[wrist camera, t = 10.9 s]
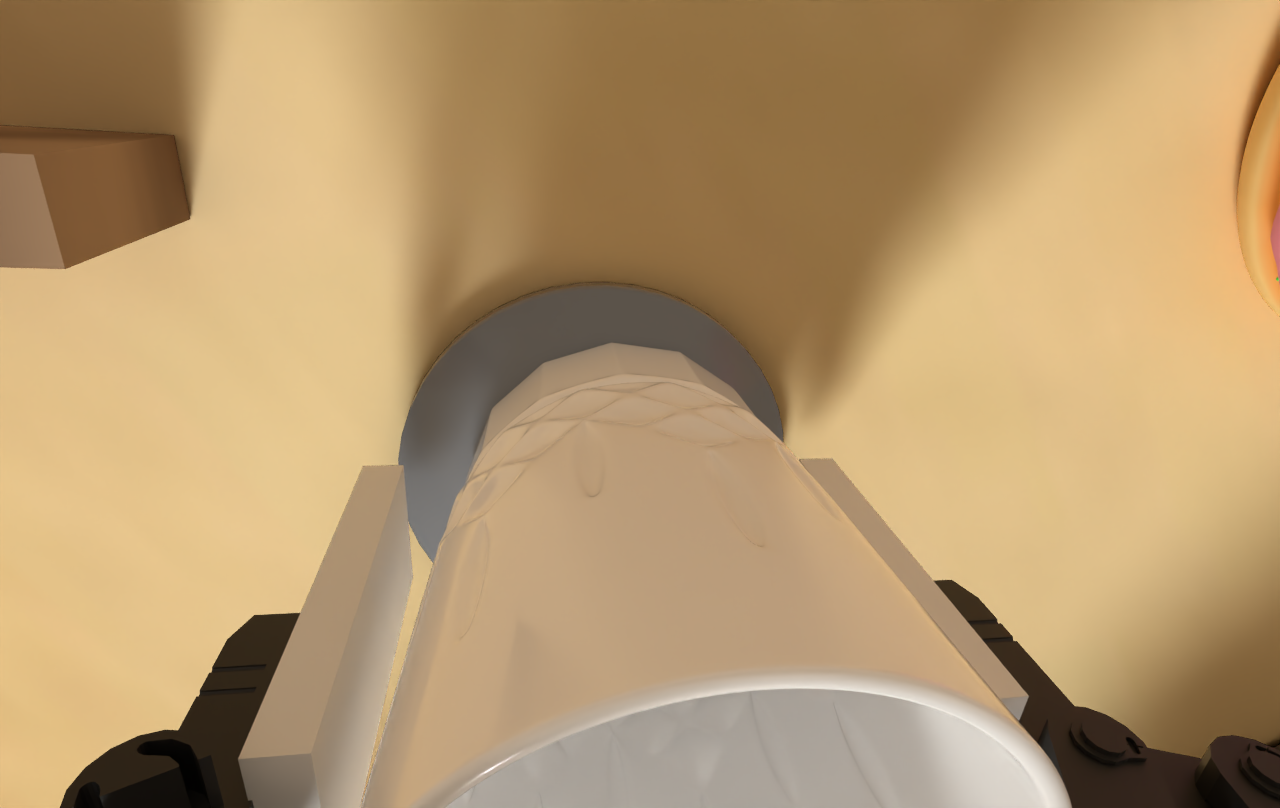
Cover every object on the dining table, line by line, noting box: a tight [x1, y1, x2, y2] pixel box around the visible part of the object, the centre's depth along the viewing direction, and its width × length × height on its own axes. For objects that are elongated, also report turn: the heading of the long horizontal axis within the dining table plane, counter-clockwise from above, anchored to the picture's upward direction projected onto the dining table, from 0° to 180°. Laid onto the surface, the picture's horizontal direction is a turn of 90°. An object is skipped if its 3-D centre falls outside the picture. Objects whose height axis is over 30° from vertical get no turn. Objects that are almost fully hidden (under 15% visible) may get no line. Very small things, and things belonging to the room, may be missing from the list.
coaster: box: [398, 282, 783, 562], centre depth 16 cm, size 9×9×1 cm
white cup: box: [360, 343, 1072, 808], centre depth 12 cm, size 8×8×10 cm
